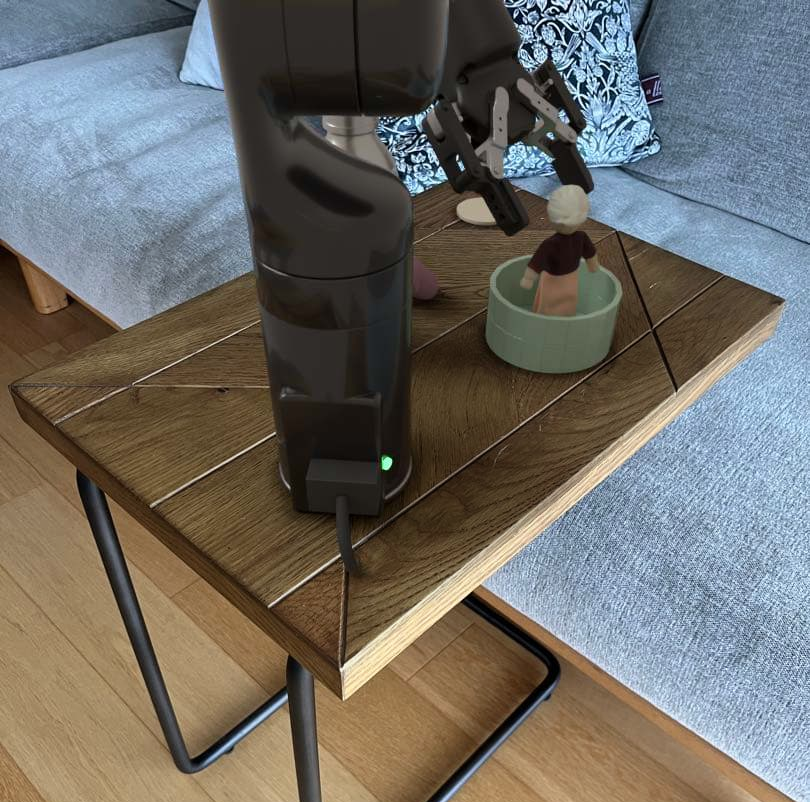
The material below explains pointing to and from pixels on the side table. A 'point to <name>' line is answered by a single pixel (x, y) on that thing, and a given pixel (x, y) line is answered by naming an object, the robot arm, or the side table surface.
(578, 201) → the grandmother figurine
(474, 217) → the coaster
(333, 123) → the metal water bottle
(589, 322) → the bowl
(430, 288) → the video game controller
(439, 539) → the side table surface
